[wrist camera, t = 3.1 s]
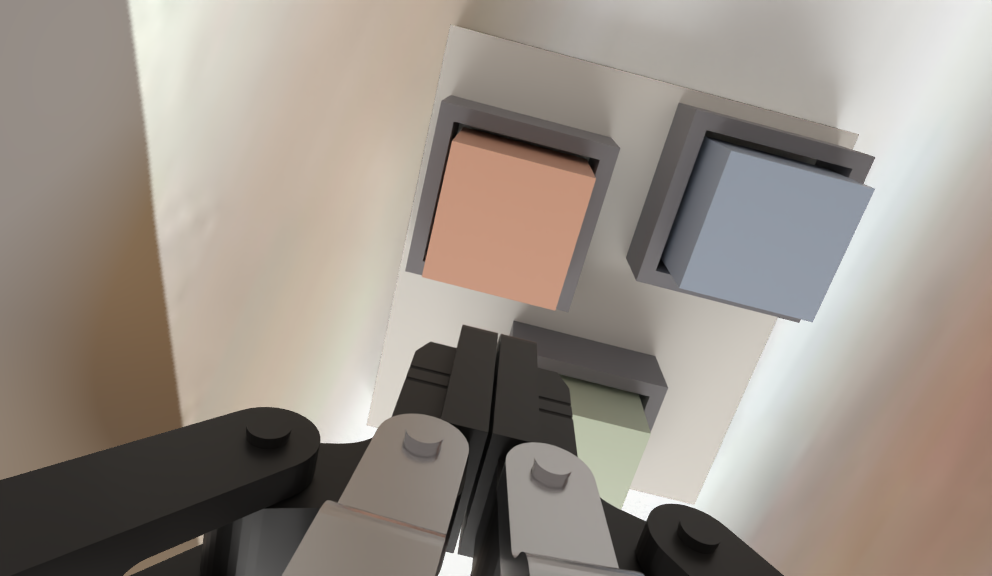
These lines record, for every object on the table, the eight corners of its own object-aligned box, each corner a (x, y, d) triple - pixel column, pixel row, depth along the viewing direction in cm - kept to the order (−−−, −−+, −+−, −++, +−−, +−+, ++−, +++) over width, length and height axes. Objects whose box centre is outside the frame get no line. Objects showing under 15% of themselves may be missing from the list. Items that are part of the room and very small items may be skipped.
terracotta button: (586, 159, 26) (596, 178, 22) (551, 274, 27) (555, 310, 24) (463, 126, 25) (452, 140, 22) (436, 245, 27) (421, 277, 23)
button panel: (837, 128, 28) (898, 144, 23) (685, 479, 35) (709, 547, 30) (455, 25, 27) (440, 22, 23) (375, 404, 34) (350, 461, 29)
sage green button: (635, 383, 29) (651, 433, 25) (601, 473, 31) (611, 533, 27) (527, 356, 29) (526, 403, 25) (499, 448, 31) (495, 505, 27)
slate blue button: (824, 167, 25) (874, 188, 22) (773, 283, 27) (812, 322, 23) (701, 134, 25) (731, 150, 21) (658, 254, 27) (679, 288, 23)
